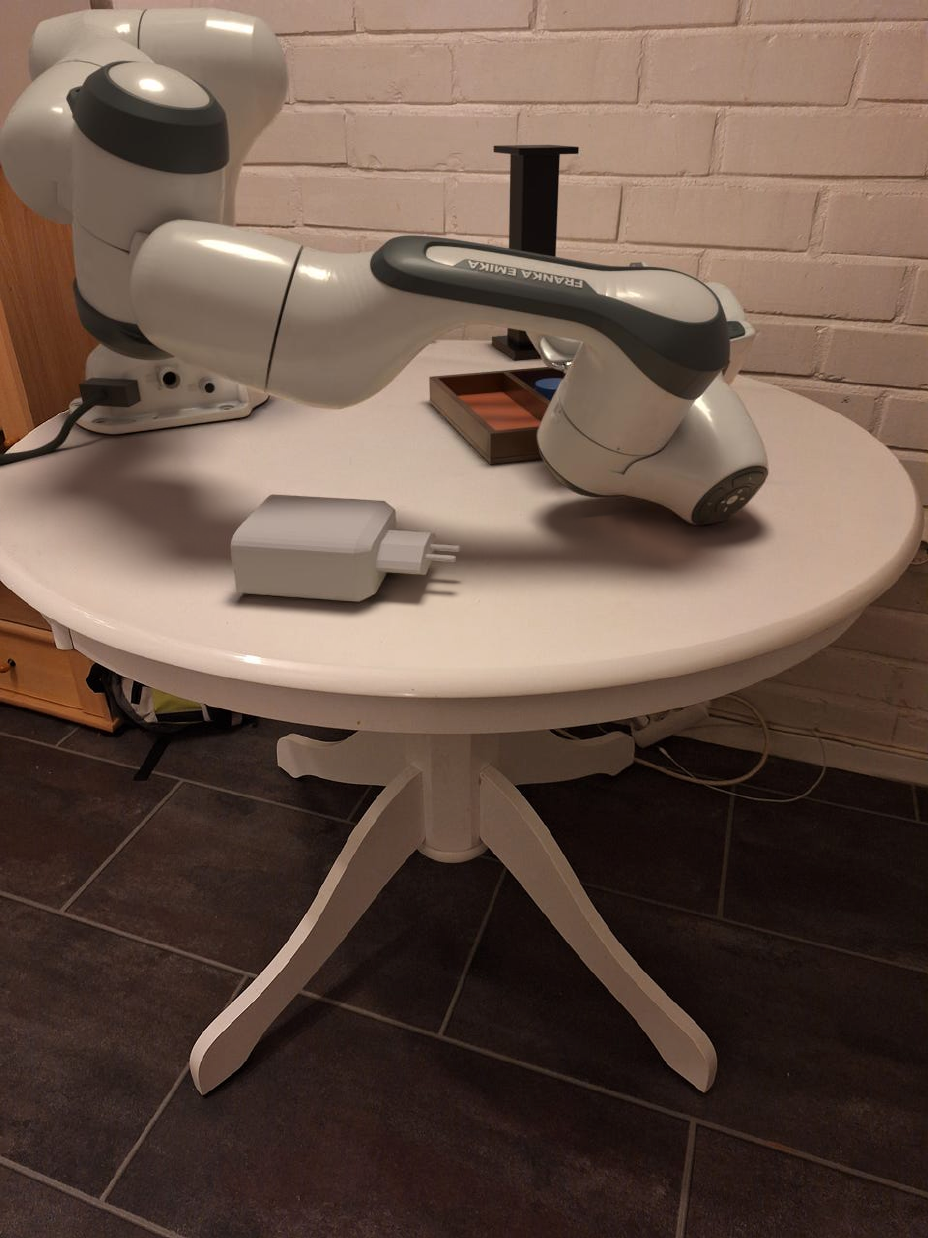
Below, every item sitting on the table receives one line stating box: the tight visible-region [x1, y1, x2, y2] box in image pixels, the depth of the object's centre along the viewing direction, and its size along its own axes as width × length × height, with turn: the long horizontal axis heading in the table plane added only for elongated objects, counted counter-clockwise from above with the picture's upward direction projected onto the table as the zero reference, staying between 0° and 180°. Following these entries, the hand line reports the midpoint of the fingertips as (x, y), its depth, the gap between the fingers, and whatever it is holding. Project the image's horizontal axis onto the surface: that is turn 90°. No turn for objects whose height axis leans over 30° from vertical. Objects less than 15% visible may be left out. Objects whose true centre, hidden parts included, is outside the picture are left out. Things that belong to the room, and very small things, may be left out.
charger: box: [230, 493, 461, 602], centre depth 66 cm, size 5×9×15 cm
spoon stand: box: [491, 144, 580, 361], centre depth 124 cm, size 10×8×26 cm
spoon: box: [535, 378, 563, 401], centre depth 99 cm, size 18×5×2 cm, turn 17°
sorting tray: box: [428, 366, 566, 465], centre depth 99 cm, size 23×18×3 cm
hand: (606, 269), depth 87 cm, fingers open, 5 cm apart
